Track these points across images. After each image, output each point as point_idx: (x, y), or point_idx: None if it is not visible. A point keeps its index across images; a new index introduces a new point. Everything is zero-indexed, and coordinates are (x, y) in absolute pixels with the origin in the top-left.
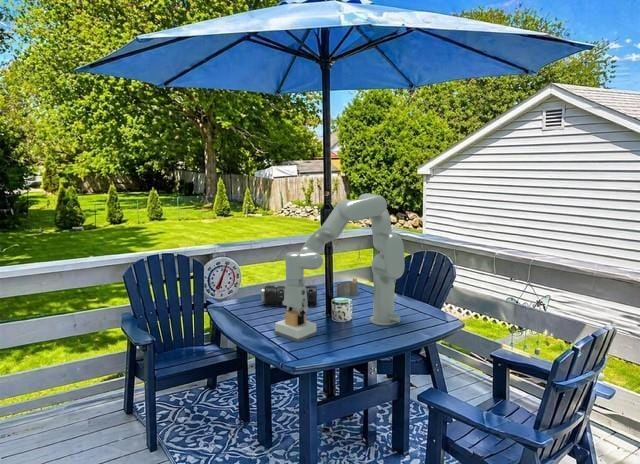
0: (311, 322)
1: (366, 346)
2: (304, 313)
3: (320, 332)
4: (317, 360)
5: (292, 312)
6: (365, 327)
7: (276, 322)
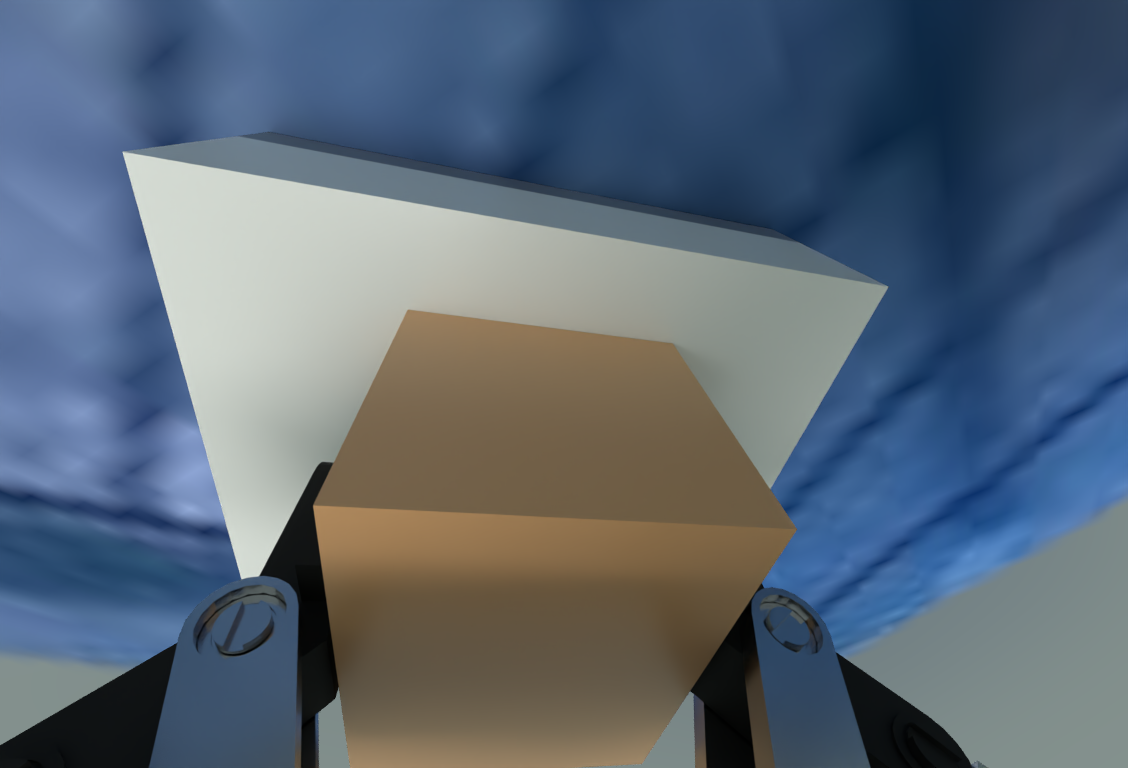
0: (776, 288)
1: None
2: (851, 695)
3: (803, 108)
4: (905, 597)
5: (492, 720)
6: None
7: (243, 570)
